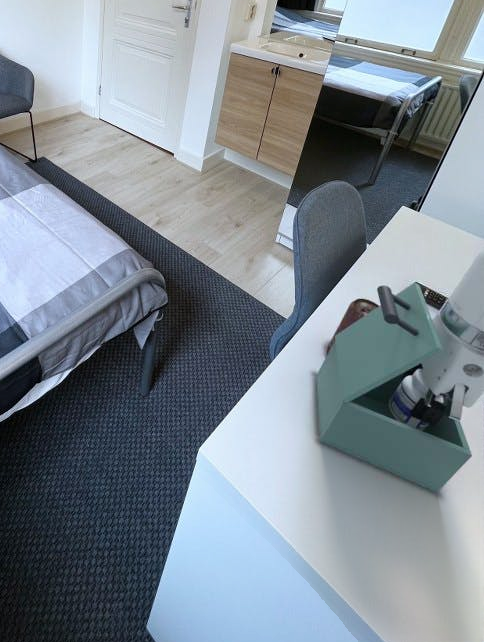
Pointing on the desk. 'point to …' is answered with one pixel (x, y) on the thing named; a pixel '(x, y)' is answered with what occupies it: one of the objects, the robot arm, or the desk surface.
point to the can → (353, 315)
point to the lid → (385, 342)
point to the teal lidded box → (387, 431)
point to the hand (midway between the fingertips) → (417, 400)
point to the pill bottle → (410, 399)
